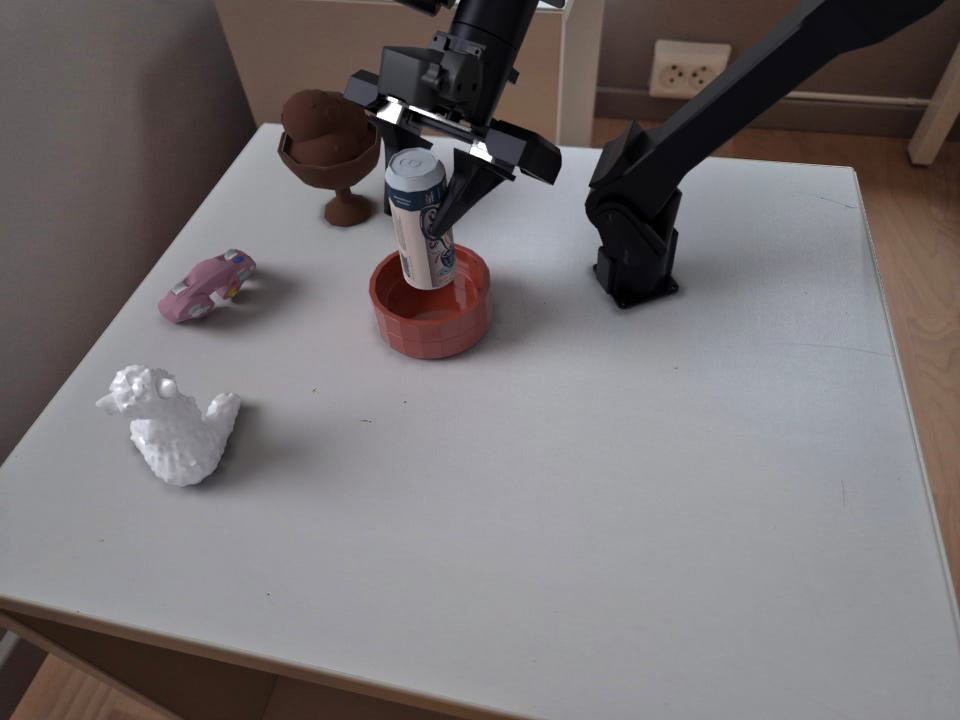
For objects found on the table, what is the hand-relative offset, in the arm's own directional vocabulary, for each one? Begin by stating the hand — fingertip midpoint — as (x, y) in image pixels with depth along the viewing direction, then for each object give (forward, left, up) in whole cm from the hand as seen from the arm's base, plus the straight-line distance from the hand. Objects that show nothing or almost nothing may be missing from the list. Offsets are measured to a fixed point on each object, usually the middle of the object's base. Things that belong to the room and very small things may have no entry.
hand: (410, 225), depth 62 cm
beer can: (-1, -1, -7) cm, 7 cm away
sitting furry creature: (+23, +5, -13) cm, 27 cm away
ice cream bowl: (+3, -22, -13) cm, 26 cm away
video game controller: (+19, -13, -13) cm, 26 cm away
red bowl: (-1, -2, -13) cm, 13 cm away
